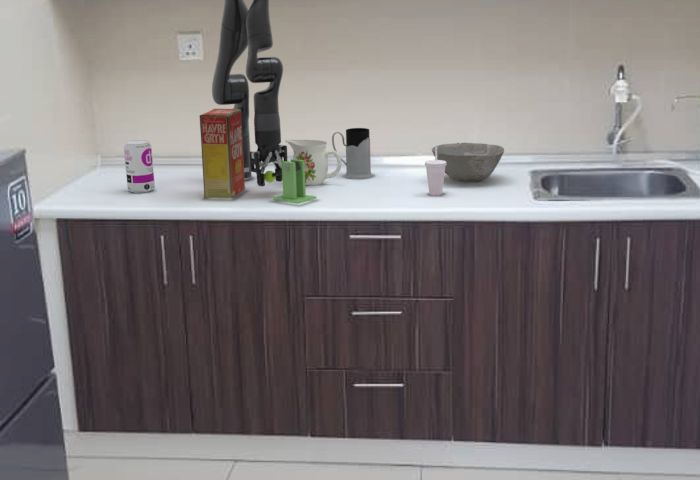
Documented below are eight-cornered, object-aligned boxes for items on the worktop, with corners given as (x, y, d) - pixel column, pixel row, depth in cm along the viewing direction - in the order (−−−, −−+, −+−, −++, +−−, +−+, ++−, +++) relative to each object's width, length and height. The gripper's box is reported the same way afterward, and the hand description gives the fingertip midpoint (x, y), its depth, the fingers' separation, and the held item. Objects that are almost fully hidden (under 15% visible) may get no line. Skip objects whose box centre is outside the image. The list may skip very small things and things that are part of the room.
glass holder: (362, 179, 313) (361, 132, 308) (325, 175, 320) (324, 129, 315) (377, 174, 320) (376, 128, 315) (340, 170, 327) (339, 125, 322)
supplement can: (160, 188, 306) (156, 140, 301) (144, 194, 298) (139, 145, 294) (139, 186, 309) (134, 139, 304) (122, 192, 302) (117, 143, 297)
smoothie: (448, 192, 293) (449, 145, 289) (443, 197, 287) (443, 149, 283) (428, 191, 295) (428, 144, 291) (422, 195, 289) (422, 148, 285)
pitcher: (336, 190, 299) (334, 145, 295) (280, 187, 304) (278, 143, 300) (347, 182, 309) (345, 139, 305) (293, 180, 314) (291, 137, 310)
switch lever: (263, 184, 289) (260, 173, 289) (271, 182, 292) (267, 171, 292) (294, 172, 281) (290, 161, 281) (302, 170, 284) (298, 159, 283)
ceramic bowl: (486, 190, 294) (486, 157, 291) (418, 183, 306) (418, 151, 303) (516, 177, 312) (516, 145, 309) (451, 170, 324) (451, 140, 321)
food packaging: (233, 200, 288) (228, 114, 281) (202, 199, 290) (196, 114, 282) (246, 190, 301) (242, 108, 293) (217, 189, 302) (211, 108, 295)
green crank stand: (272, 201, 286) (270, 161, 282) (290, 196, 292) (288, 157, 288) (299, 205, 280) (297, 165, 277) (316, 200, 286) (315, 160, 283)
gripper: (274, 123, 293) (276, 177, 298) (240, 130, 282) (244, 186, 287) (293, 125, 288) (295, 180, 293) (260, 132, 277) (263, 189, 282)
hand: (270, 183), depth 290 cm, fingers open, 7 cm apart
